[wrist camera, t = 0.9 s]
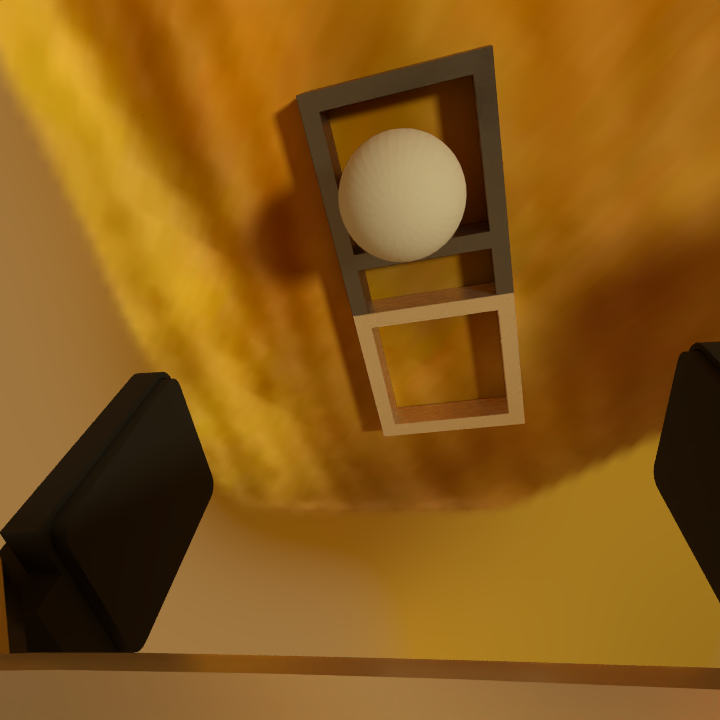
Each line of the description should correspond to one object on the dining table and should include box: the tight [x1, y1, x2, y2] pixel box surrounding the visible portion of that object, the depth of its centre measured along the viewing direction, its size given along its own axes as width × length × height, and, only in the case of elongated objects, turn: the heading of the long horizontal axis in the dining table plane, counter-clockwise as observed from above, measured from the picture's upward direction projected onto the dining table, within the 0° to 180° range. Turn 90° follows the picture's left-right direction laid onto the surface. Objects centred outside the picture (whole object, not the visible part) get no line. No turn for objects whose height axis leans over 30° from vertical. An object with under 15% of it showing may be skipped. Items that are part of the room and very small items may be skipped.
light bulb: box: [338, 128, 466, 262], centre depth 26 cm, size 6×6×10 cm
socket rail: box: [296, 45, 525, 436], centre depth 32 cm, size 10×23×2 cm, turn 13°
